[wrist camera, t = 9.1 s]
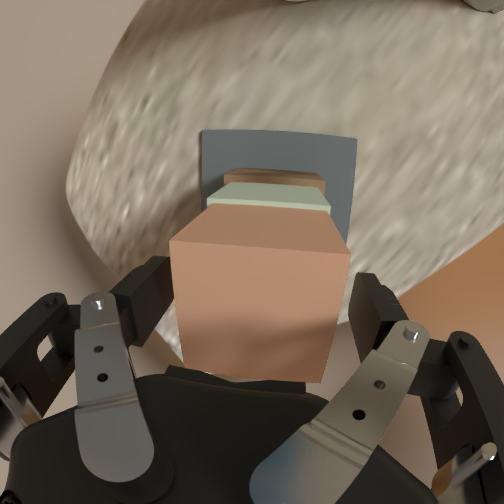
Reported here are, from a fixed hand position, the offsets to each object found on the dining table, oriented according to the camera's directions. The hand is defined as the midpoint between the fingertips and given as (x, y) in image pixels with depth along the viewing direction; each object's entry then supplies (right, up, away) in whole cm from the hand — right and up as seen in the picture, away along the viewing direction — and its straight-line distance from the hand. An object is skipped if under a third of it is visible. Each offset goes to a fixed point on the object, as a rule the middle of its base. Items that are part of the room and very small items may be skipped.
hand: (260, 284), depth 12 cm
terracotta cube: (0, +1, +2) cm, 3 cm away
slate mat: (+2, +6, +14) cm, 15 cm away
